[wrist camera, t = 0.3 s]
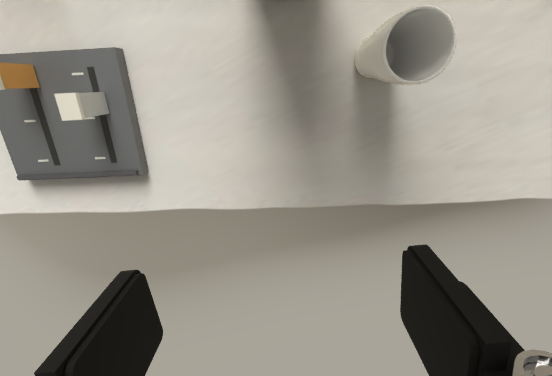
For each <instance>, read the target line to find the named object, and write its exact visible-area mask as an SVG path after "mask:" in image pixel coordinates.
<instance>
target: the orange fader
mask: <svg viewBox="0 0 552 376" xmlns="http://www.w3.org/2000/svg"><path fill="white" fill-rule="evenodd" d="M24 88H40V86H39V83H38V80H37V77H36V73H35V70H34V67H33V65H32V64H16V63H0V90H5V89H24Z"/></svg>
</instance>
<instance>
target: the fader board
mask: <svg viewBox="0 0 552 376" xmlns="http://www.w3.org/2000/svg"><path fill="white" fill-rule="evenodd" d="M0 63H16V64H32V65H33V67H34V70H35V73H36V77H37V80H38V83H39V86H40V88H24V89H5V90H0V130H1V133H2V136H3V138H4V141H5V144H6V146H7V149H8V152H9V154H10V157H11V160H12V162H13V165H14V168H15V170H16V173H17V175H18V176H17V179H18V180H38V179H61V178H85V177H108V176H132V175H144V174H145V173H147V172H148V167H147V162H146V157H145V152H144V148H143V143H142V138H141V134H140V129H139V124H138V120H137V115H136V110H135V105H134V101H133V96H132V91H131V87H130V82H129V77H128V72H127V68H126V63H125V58H124V54H123V49H120V48H115V47H114V48H98V49H82V50H65V51H49V52H32V53H16V54H0ZM89 92H104V93H105V97H106V101H107V106H108V110H109V114H104V115H99V116H94V117H89V118H85V119H83V120H67V121H62V118H61V115H60V112H59V108H58V105H57V102H56V98H55V95H54V94H60V93H89Z"/></svg>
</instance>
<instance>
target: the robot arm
mask: <svg viewBox="0 0 552 376" xmlns="http://www.w3.org/2000/svg"><path fill="white" fill-rule="evenodd" d="M400 310H401V311H400V312H401V318H402V321H403V323H404V325H405V328H406V329H407V332H408V333H409V336H410V338H411V340H412V342H413V343H414V346H415V348H416V350H417V352H418V354H419V356H420V358H421V360H422V362H423V364H424V366H425V368H426V370H427V372H428V374H429V376H552V353H549V352H546V351H540V350H527V351H525V350H524V349H523V348H522V347H521V346H520V345H519V344H518V343H517V341H516V340H515V339H514V338H513V337H512V336H511V335H510V334H509V332H508V331H507V330H506V329H505V328H504V327H503V326H502V324H501V323H500V322H499V321H498V320H497V319H496V318H495V317H494V315H493V314H492V313H491V312H490V311H489V310H488V309H487V308H486V306H485V305H484V304H483V303H482V302H481V301H480V300H479V299H478V298H477V296H476V295H475V294H474V293H473V292H472V291H471V290H470V289H469V288H468V286H467V285H465V284H464V283H463V282H460V281H458V280H457V278H456V277H455V276H454V275H453V274H452V273H451V272H450V270H449V269H448V268H447V267H446V266H445V265H444V264H443V262H442V261H441V260H440V259H439V258H438V257H437V255H436V254H435V253H434V252H433V251H432V250H431V249H430V247H429V246H427V245H415V246H409V247H408V250H406V251H403V256H402V283H401V308H400ZM162 336H163V329H162V326H161V322H160V319H159V316H158V313H157V310H156V307H155V304H154V301H153V298H152V295H151V292H150V289H149V286H148V283H147V280H146V277H145V275H144V274H142V273H140V271H139V270H129V271H121V272H120V273H119V274H118V275H117V276H116V277H115V278H114V280H113V281H112V282H111V283H110V284H109V286H108V287H107V288H106V289H105V290H104V291H103V293H102V294H101V295H100V296H99V298H97V300H96V301H95V302H94V303H93V304H92V306H91V307H90V308H89V309H88V310H87V312H86V313H85V314H84V315H83V316H82V317H81V319H80V320H79V321H78V322H77V323H76V324H75V326H74V327H73V328H72V329H71V330H70V331H69V333H68V334H67V335H66V336H65V337H64V339H63V340H62V341H61V342H60V343H59V344H58V346H57V347H56V348H55V349H54V350H53V352H52V353H51V354H50V355H49V356H48V357H47V358H46V360H45V361H44V362H43V363H42V364H41V366H40V367H39V368H38V369H37V370H36V371H35V373H34V374H35V376H145V374H146V372H147V370H148V367H149V366H150V363H151V361H152V359H153V357H154V355H155V352H156V350H157V348H158V346H159V344H160V342H161V340H162Z"/></svg>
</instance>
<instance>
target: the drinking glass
mask: <svg viewBox="0 0 552 376" xmlns="http://www.w3.org/2000/svg"><path fill="white" fill-rule="evenodd" d="M455 47H456V29H455V26H454V23H453V21H452V19H451V17H450V16H449V15H448V14H447V13H446V12H445V11H444V10H442V9H441V8H439V7H436V6H433V5H418V6H414V7H412V8H410V9H407V10H405V11H403V12H401V13H399V14H397V15H395V16H393V17H392V18H390V19H389V20H388V21H386V22H385V23H384V24H383V25H381V26H380V27H379V28H378V29H377V30H376V31H375V32H374V33H373V34H372V35H371V36H369V37H368V38H366V39H365V40H364V41H362V42H361V44H360V45H359V46H358V48H357V50H356V53H355V58H354V61H355V66H356V69H357V70H358V72H359V73H360V74H361V75H363V76H364V77H367V78H374V79H377V80H380V81H383V82H387V83H390V84H396V85H413V84H421V83H424V82H427V81H429V80H431V79H433V78H435V77H436V76H437V75H439V74H440V73H441V72H442V71H443V70H444V69H445V68H446V66H447V65H448V63H449V62H450V60H451V58H452V56H453V54H454V51H455Z"/></svg>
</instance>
